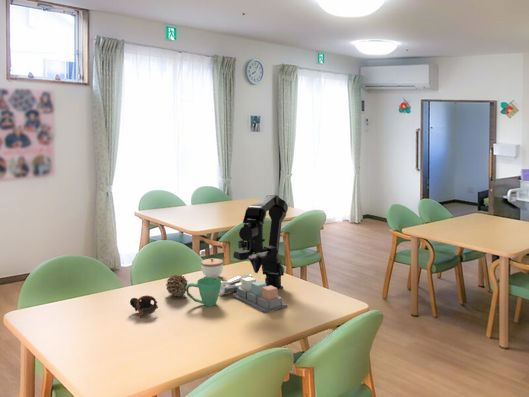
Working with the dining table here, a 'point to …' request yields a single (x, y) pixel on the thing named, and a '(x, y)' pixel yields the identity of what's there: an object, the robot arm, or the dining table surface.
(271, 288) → the salmon pink block
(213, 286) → the mug
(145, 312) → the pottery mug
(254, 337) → the dining table surface
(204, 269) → the lidded jar
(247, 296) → the keypad base
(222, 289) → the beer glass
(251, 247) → the robot arm
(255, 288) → the key teal
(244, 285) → the key ivory
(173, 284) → the pine cone
